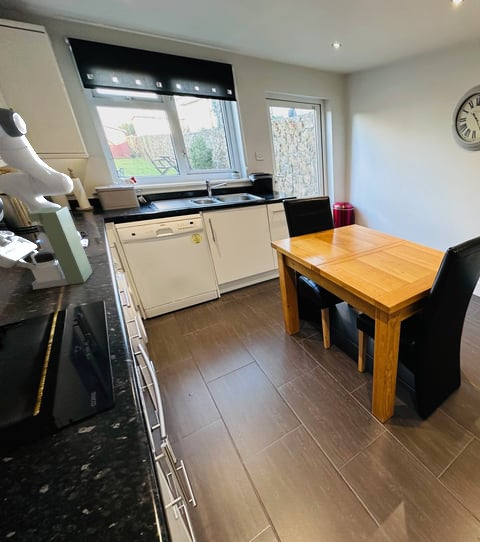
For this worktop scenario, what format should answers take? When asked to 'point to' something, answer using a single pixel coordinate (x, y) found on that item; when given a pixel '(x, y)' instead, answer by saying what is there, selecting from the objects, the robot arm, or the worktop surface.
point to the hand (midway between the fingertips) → (40, 263)
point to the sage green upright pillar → (63, 246)
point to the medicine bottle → (46, 267)
